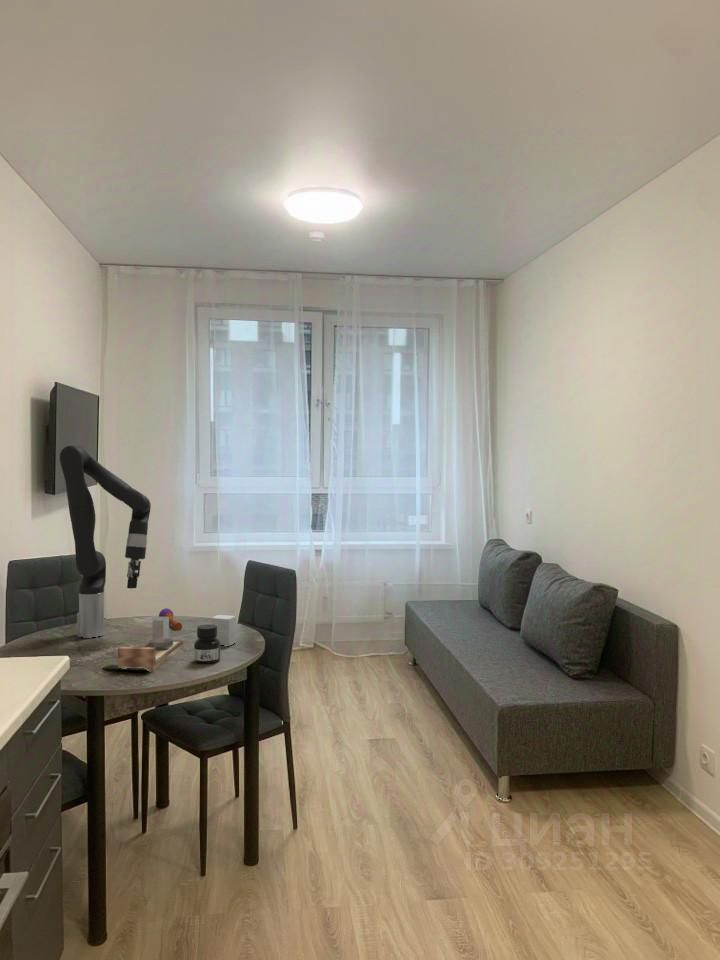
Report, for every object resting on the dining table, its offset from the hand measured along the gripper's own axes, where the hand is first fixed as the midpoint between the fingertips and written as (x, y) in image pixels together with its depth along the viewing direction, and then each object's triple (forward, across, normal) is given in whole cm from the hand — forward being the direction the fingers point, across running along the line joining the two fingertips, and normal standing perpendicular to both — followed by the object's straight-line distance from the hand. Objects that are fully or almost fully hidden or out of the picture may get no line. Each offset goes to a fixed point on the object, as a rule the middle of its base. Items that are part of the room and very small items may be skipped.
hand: (131, 588), depth 277 cm
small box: (+19, +18, +33) cm, 42 cm away
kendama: (+14, -21, +21) cm, 33 cm away
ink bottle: (+24, +36, +23) cm, 49 cm away
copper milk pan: (+24, +25, +6) cm, 35 cm away
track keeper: (+21, +18, +10) cm, 29 cm away
